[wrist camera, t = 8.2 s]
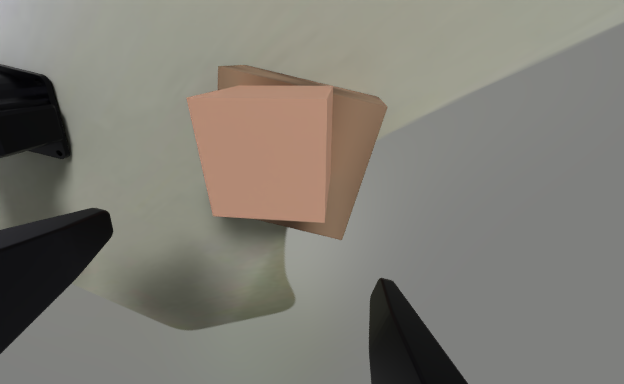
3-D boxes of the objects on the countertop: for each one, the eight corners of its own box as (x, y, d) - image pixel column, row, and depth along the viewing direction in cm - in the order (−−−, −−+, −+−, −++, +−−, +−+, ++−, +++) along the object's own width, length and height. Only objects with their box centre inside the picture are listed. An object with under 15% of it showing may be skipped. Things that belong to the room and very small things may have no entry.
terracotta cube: (250, 172, 16) (213, 216, 11) (238, 85, 13) (186, 98, 9) (330, 175, 15) (324, 222, 11) (333, 85, 13) (326, 98, 8)
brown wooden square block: (236, 184, 21) (214, 209, 17) (245, 65, 17) (218, 66, 13) (342, 209, 21) (341, 240, 17) (378, 97, 16) (387, 107, 13)
